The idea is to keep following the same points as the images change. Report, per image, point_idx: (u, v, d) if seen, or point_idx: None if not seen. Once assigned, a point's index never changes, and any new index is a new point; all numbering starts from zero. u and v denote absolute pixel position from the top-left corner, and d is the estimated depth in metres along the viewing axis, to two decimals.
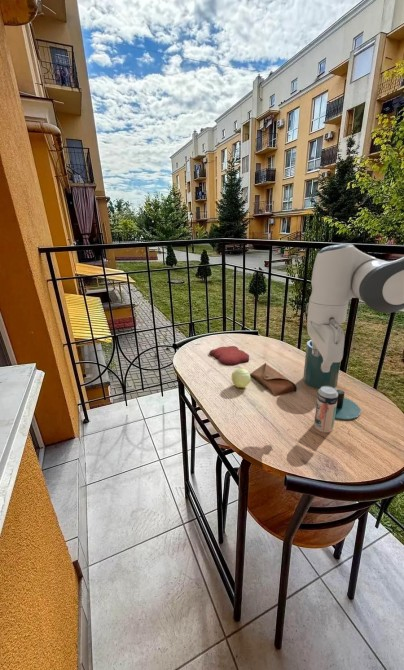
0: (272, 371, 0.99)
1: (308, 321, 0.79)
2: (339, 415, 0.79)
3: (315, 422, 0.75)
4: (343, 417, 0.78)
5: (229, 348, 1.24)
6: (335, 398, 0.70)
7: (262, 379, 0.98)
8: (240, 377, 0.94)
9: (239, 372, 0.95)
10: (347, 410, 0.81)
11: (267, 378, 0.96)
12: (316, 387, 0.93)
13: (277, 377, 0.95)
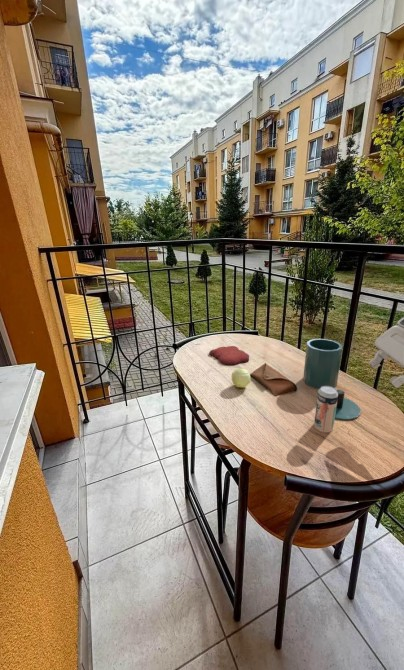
0: (272, 371, 0.99)
1: (387, 333, 0.75)
2: (339, 415, 0.79)
3: (315, 422, 0.75)
4: (343, 417, 0.78)
5: (229, 348, 1.24)
6: (335, 398, 0.70)
7: (262, 379, 0.98)
8: (240, 377, 0.94)
9: (239, 372, 0.95)
10: (347, 410, 0.81)
11: (267, 378, 0.96)
12: (316, 387, 0.93)
13: (277, 377, 0.95)
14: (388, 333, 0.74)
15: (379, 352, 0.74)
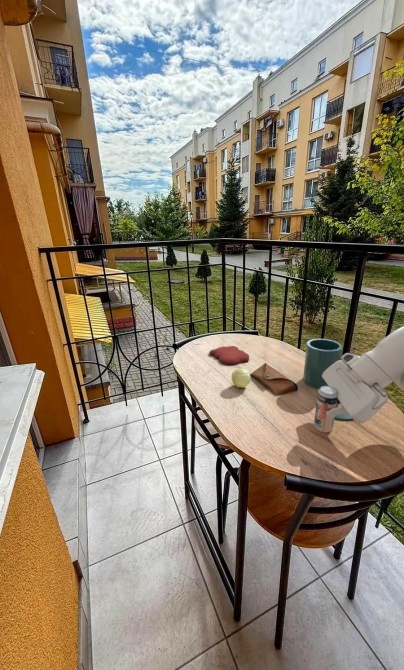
0: (273, 371, 0.99)
1: (333, 367, 0.79)
2: (339, 415, 0.79)
3: (315, 422, 0.75)
4: (343, 417, 0.78)
5: (229, 348, 1.24)
6: (335, 398, 0.70)
7: (263, 379, 0.98)
8: (240, 377, 0.94)
9: (239, 372, 0.95)
10: None
11: (268, 378, 0.96)
12: (316, 387, 0.93)
13: (278, 377, 0.95)
14: (333, 367, 0.79)
15: None
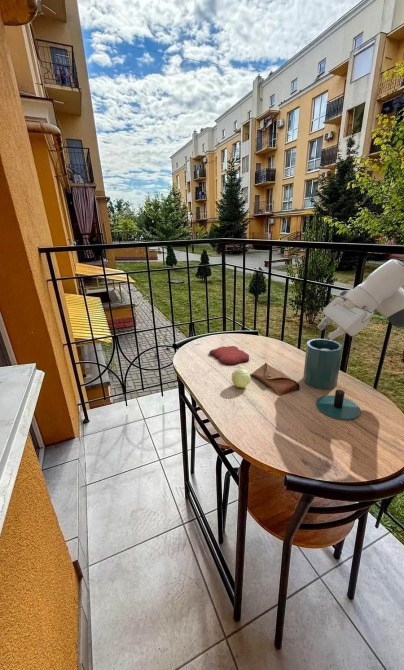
0: (274, 371, 0.99)
1: (331, 303, 0.97)
2: (339, 415, 0.79)
3: None
4: (343, 417, 0.78)
5: (229, 348, 1.24)
6: None
7: (264, 379, 0.98)
8: (240, 377, 0.94)
9: (239, 372, 0.95)
10: (347, 410, 0.81)
11: (269, 378, 0.97)
12: (316, 387, 0.93)
13: (279, 377, 0.95)
14: (332, 303, 0.96)
15: (325, 318, 0.95)
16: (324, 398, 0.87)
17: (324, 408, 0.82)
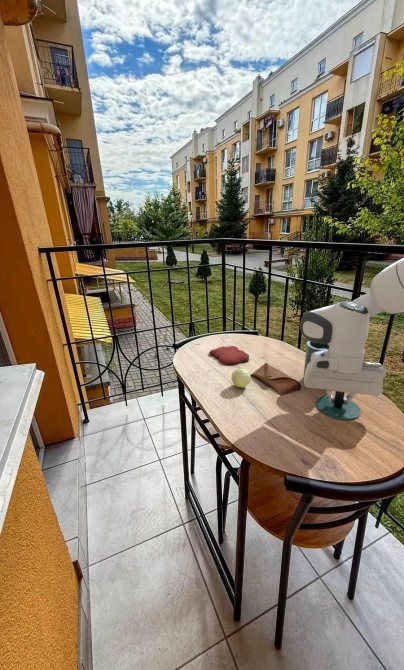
0: (275, 370, 0.99)
1: (311, 376, 0.80)
2: (339, 415, 0.79)
3: None
4: (343, 417, 0.78)
5: (229, 348, 1.24)
6: None
7: (266, 379, 0.98)
8: (240, 377, 0.94)
9: (239, 372, 0.95)
10: (347, 410, 0.81)
11: (271, 378, 0.97)
12: None
13: (280, 376, 0.95)
14: (311, 375, 0.80)
15: (329, 391, 0.81)
16: (324, 398, 0.87)
17: (324, 408, 0.82)
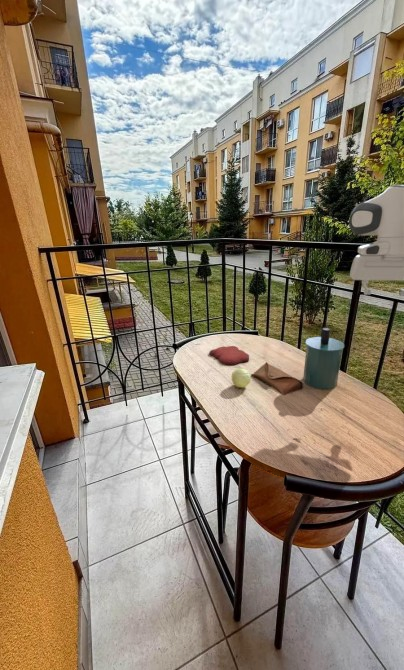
0: (276, 370, 0.99)
1: (359, 266, 0.83)
2: (325, 348, 0.89)
3: None
4: (328, 349, 0.88)
5: (229, 348, 1.24)
6: None
7: (267, 379, 0.98)
8: (240, 377, 0.94)
9: (239, 372, 0.95)
10: (332, 345, 0.91)
11: (272, 377, 0.97)
12: (316, 387, 0.93)
13: (282, 376, 0.96)
14: (359, 265, 0.83)
15: (366, 282, 0.84)
16: (313, 339, 0.97)
17: (312, 344, 0.92)
